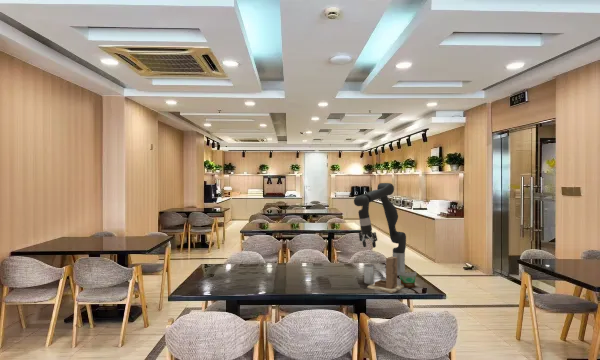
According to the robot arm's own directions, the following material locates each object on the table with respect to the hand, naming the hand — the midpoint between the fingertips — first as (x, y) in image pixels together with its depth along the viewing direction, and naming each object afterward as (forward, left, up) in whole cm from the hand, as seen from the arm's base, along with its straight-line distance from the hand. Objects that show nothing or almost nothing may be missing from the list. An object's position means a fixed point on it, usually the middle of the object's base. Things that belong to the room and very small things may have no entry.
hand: (369, 247), depth 263 cm
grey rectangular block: (-6, -4, -27) cm, 27 cm away
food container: (-16, +22, -27) cm, 38 cm away
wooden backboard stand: (-3, +11, -26) cm, 29 cm away
